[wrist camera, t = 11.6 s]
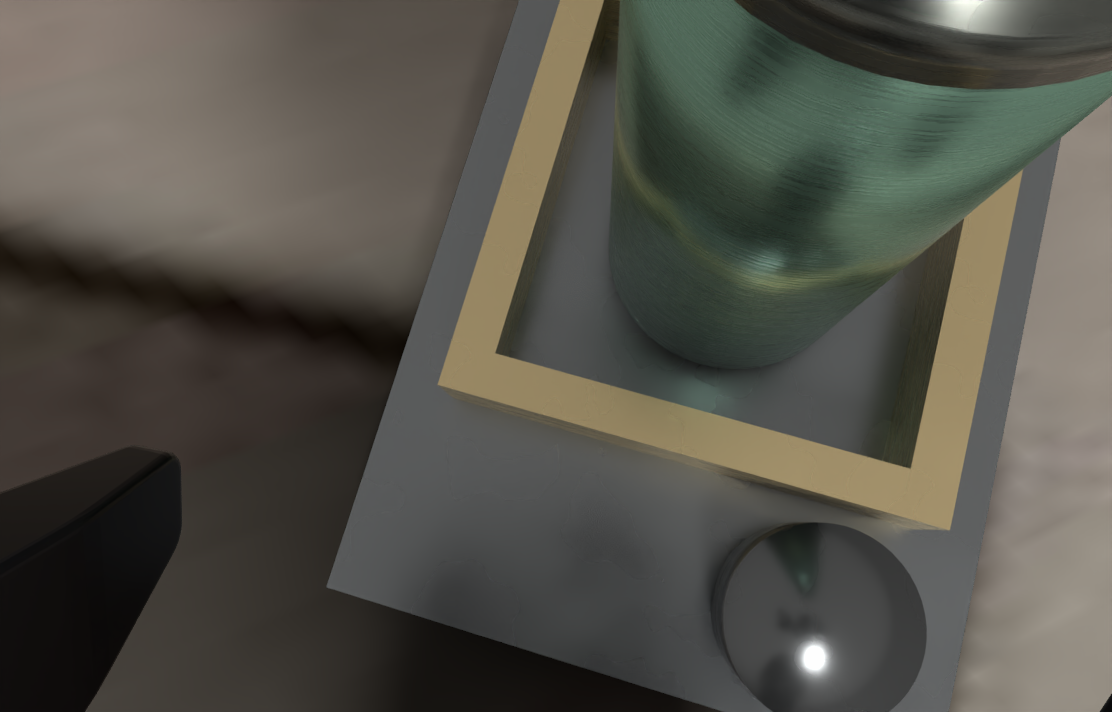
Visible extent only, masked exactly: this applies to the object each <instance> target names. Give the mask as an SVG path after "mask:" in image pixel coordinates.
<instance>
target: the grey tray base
mask: <svg viewBox="0 0 1112 712" xmlns="http://www.w3.org/2000/svg"><path fill="white" fill-rule="evenodd" d="M619 11H620V0H519V2H518V5H517V8H516V11H515V14H514V17H513V20H512V23H511V26H510V29H509V32H508V35H507V39H506V42H505V45H504V48H503V51H502V54H501V57H500V60H499V63H498V66H497V69H496V72H495V75H494V78H493V81H492V84H491V87H490V90H489V93H488V96H487V99H486V102H485V106H484V109H483V112H482V115H481V118H480V121H479V124H478V127H477V130H476V133H475V136H474V139H473V142H472V145H471V148H470V151H469V154H468V157H467V160H466V163H465V166H464V169H463V173H462V176H461V179H460V182H459V185H458V188H457V191H456V194H455V197H454V200H453V203H452V206H451V209H450V212H449V215H448V218H447V221H446V224H445V227H444V230H443V233H442V236H441V240H440V243H439V246H438V249H437V252H436V255H435V258H434V261H433V264H432V267H431V270H430V273H429V276H428V279H427V282H426V285H425V288H424V291H423V294H422V297H421V300H420V303H419V307H418V310H417V313H416V316H415V319H414V322H413V325H412V328H411V331H410V334H409V337H408V340H407V343H406V346H405V349H404V352H403V355H402V358H401V361H400V364H399V367H398V370H397V374H396V377H395V380H394V383H393V386H392V389H391V392H390V395H389V398H388V401H387V404H386V407H385V410H384V413H383V416H382V419H381V422H380V425H379V428H378V431H377V434H376V437H375V441H374V444H373V447H372V450H371V453H370V456H369V459H368V462H367V465H366V468H365V471H364V474H363V477H362V480H361V483H360V486H359V489H358V492H357V495H356V498H355V501H354V504H353V508H352V511H351V514H350V517H349V520H348V523H347V526H346V529H345V532H344V535H343V538H342V541H341V544H340V547H339V550H338V553H337V556H336V559H335V562H334V565H333V568H332V571H331V575H330V578H329V581H328V584H327V588H330V589H334V590H337V591H340V592H343V593H346V594H349V595H353V596H356V597H359V598H362V599H365V600H369V601H372V602H375V603H378V604H381V605H385V606H388V607H391V608H394V609H397V610H401V611H404V612H407V613H410V614H413V615H416V616H420V617H423V618H426V619H429V620H432V621H436V622H439V623H442V624H445V625H448V626H452V627H455V628H458V629H461V630H464V631H468V632H471V633H474V634H477V635H480V636H483V637H487V638H490V639H493V640H496V641H499V642H503V643H506V644H509V645H512V646H515V647H519V648H522V649H525V650H528V651H531V652H535V653H538V654H541V655H544V656H547V657H550V658H554V659H557V660H560V661H563V662H566V663H570V664H573V665H576V666H579V667H582V668H586V669H589V670H592V671H595V672H598V673H602V674H605V675H608V676H611V677H614V678H617V679H621V680H624V681H627V682H630V683H633V684H637V685H640V686H643V687H646V688H649V689H653V690H656V691H659V692H662V693H665V694H668V695H672V696H675V697H678V698H681V699H684V700H688V701H691V702H694V703H697V704H700V705H704V706H707V707H710V708H713V709H716V710H720V711H723V712H949V707H950V702H951V697H952V692H953V687H954V682H955V677H956V672H957V667H958V661H959V656H960V651H961V646H962V641H963V636H964V631H965V626H966V621H967V615H968V610H969V605H970V600H971V595H972V590H973V585H974V580H975V575H976V569H977V564H978V559H979V554H980V549H981V544H982V539H983V534H984V529H985V523H986V518H987V513H988V508H989V503H990V498H991V493H992V488H993V482H994V477H995V472H996V467H997V462H998V457H999V452H1000V447H1001V442H1002V436H1003V431H1004V426H1005V421H1006V416H1007V411H1008V406H1009V401H1010V396H1011V390H1012V385H1013V380H1014V375H1015V370H1016V365H1017V360H1018V355H1019V350H1020V344H1021V339H1022V334H1023V329H1024V324H1025V319H1026V314H1027V309H1028V304H1029V298H1030V293H1031V288H1032V283H1033V278H1034V273H1035V268H1036V263H1037V258H1038V252H1039V247H1040V242H1041V237H1042V232H1043V227H1044V222H1045V217H1046V212H1047V206H1048V201H1049V196H1050V191H1051V186H1052V181H1053V176H1054V171H1055V166H1056V160H1057V155H1058V150H1059V145H1060V140H1061V138H1060V139H1059V140H1058V141H1056V142H1055V143H1054V144H1053V145H1052V146H1050V147H1049V148H1048V149H1047V150H1046V151H1044V152H1043V153H1042V154H1041V155H1040V156H1038V157H1037V158H1036V159H1035V160H1033V161H1032V162H1031V163H1030V164H1029V165H1027V166H1026V167H1025V168H1024V169H1023V170H1021V171H1020V172H1019V173H1018V174H1017V175H1015V176H1014V177H1013V178H1012V179H1011V180H1009V181H1008V182H1007V183H1006V184H1005V185H1003V186H1002V187H1001V188H1000V189H999V190H997V191H996V192H995V193H994V194H993V195H991V196H990V197H989V198H988V199H986V200H985V201H984V202H983V203H982V204H980V205H979V206H978V207H977V208H976V209H974V210H973V211H972V212H971V213H970V214H968V215H967V216H966V217H965V218H964V219H962V220H961V221H960V222H959V223H958V224H956V225H955V226H954V227H953V228H952V229H950V230H949V231H948V232H947V233H945V234H944V235H943V236H942V237H941V238H939V239H938V240H937V241H936V242H935V243H933V244H932V245H931V246H930V247H929V248H927V249H926V250H925V251H924V252H923V253H921V254H920V255H919V256H918V257H917V258H915V259H914V260H913V261H912V262H911V263H909V264H908V265H907V266H906V267H905V268H903V269H902V270H901V271H900V272H898V273H897V274H896V275H895V276H894V277H892V278H891V279H890V280H889V281H888V282H886V283H885V284H884V285H883V286H882V287H880V288H879V289H878V290H877V291H876V292H874V293H873V294H872V295H871V296H870V297H868V298H867V299H866V300H865V301H864V302H862V303H861V304H860V305H859V306H858V307H856V308H855V309H854V310H853V311H851V312H850V313H849V314H848V315H847V316H845V317H844V318H843V319H842V320H841V321H839V322H838V323H837V324H836V325H835V326H833V327H832V328H831V329H830V330H829V331H827V332H826V333H825V334H824V335H823V336H821V337H820V338H819V339H818V340H816V341H815V342H814V343H813V344H811V345H810V346H809V347H807V348H806V349H804V350H802V351H801V352H799V353H797V354H796V355H794V356H792V357H789V358H787V359H784V360H782V361H780V362H777V363H773V364H770V365H766V366H762V367H755V368H748V369H726V368H717V367H711V366H707V365H703V364H699V363H695V362H693V361H690V360H687V359H685V358H682V357H680V356H678V355H676V354H674V353H673V352H671V351H669V350H667V349H665V348H664V347H663V346H661V345H660V344H659V343H657V342H656V341H654V340H653V339H652V338H651V337H650V336H649V335H648V334H647V333H645V332H644V331H643V330H642V329H641V328H640V326H639V325H638V324H637V323H636V322H635V320H634V319H633V318H632V317H631V315H630V314H629V312H628V311H627V309H626V307H625V306H624V304H623V303H622V301H621V298H620V296H619V294H618V292H617V289H616V287H615V284H614V280H613V277H612V273H611V267H610V261H609V226H610V204H611V183H612V161H613V140H614V118H615V97H616V75H617V54H618V32H619Z"/></svg>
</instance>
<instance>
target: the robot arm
mask: <svg viewBox="0 0 1112 712" xmlns="http://www.w3.org/2000/svg"><path fill="white" fill-rule="evenodd" d="M181 527H182V502H181V466H180V462H179V459H178V458H177V457H176V456H175V455H174V454H173V453H171V452H168V451H163V450H158V449H153V448H149V447H144V446H138V445H130V446H127V447H124V448H121V449H118V450H115V451H113V452H110V453H107V454H105V455H102V456H99V457H96V458H94V459H91V460H88V461H85V462H83V463H80V464H77V465H74V466H72V467H69V468H66V469H63V470H61V471H58V472H55V473H52V474H50V475H47V476H44V477H42V478H39V479H36V480H33V481H31V482H28V483H25V484H22V485H20V486H17V487H14V488H11V489H9V490H6V491H3V492H0V712H85V711H86V709H87V708H88V706H89V705H90V703H91V701H92V700H93V698H94V697H95V695H96V694H97V692H98V690H99V689H100V687H101V685H102V683H103V682H104V680H105V678H106V676H107V675H108V673H109V671H110V669H111V667H112V666H113V664H114V662H115V660H116V658H117V656H118V654H119V653H120V651H121V649H122V647H123V645H124V643H125V642H126V640H127V638H128V636H129V634H130V632H131V630H132V629H133V627H134V625H135V623H136V621H137V619H138V617H139V616H140V614H141V612H142V610H143V608H144V606H145V604H146V603H147V601H148V599H149V597H150V595H151V593H152V591H153V590H154V588H155V586H156V584H157V582H158V580H159V578H160V577H161V575H162V573H163V571H164V569H165V567H166V566H167V564H168V562H169V560H170V558H171V556H172V554H173V553H174V550H175V548H176V546H177V543H178V541H179V537H180V533H181ZM1100 712H1112V694H1111V696H1110V697H1109V699H1108V700H1107V702H1106V703H1105V705H1104V706H1103V708H1102V709H1101V711H1100Z"/></svg>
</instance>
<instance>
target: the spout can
mask: <svg viewBox="0 0 1112 712" xmlns="http://www.w3.org/2000/svg"><path fill="white" fill-rule="evenodd" d="M1111 96H1112V0H620V11H619V32H618V54H617V75H616V97H615V118H614V140H613V161H612V183H611V204H610V226H609V261H610V267H611V273H612V277H613V280H614V284H615V287H616V289H617V292H618V294H619V296H620V298H621V301H622V303H623V304H624V306H625V307H626V309H627V311H628V312H629V314H630V315H631V317H632V318H633V319H634V320H635V322H636V323H637V324H638V325H639V326H640V328H641V329H642V330H643V331H644V332H645V333H647V334H648V335H649V336H650V337H651V338H652V339H653V340H654V341H656V342H657V343H659V344H660V345H661V346H663V347H664V348H665V349H667V350H669V351H671V352H673V353H674V354H676V355H678V356H680V357H682V358H685V359H687V360H690V361H693V362H695V363H699V364H703V365H707V366H711V367H717V368H726V369H748V368H755V367H762V366H766V365H770V364H773V363H777V362H780V361H782V360H784V359H787V358H789V357H792V356H794V355H796V354H797V353H799V352H801V351H802V350H804V349H806V348H807V347H809V346H810V345H811V344H813V343H814V342H815V341H816V340H818V339H819V338H820V337H821V336H823V335H824V334H825V333H826V332H827V331H829V330H830V329H831V328H832V327H833V326H835V325H836V324H837V323H838V322H839V321H841V320H842V319H843V318H844V317H845V316H847V315H848V314H849V313H850V312H851V311H853V310H854V309H855V308H856V307H858V306H859V305H860V304H861V303H862V302H864V301H865V300H866V299H867V298H868V297H870V296H871V295H872V294H873V293H874V292H876V291H877V290H878V289H879V288H880V287H882V286H883V285H884V284H885V283H886V282H888V281H889V280H890V279H891V278H892V277H894V276H895V275H896V274H897V273H898V272H900V271H901V270H902V269H903V268H905V267H906V266H907V265H908V264H909V263H911V262H912V261H913V260H914V259H915V258H917V257H918V256H919V255H920V254H921V253H923V252H924V251H925V250H926V249H927V248H929V247H930V246H931V245H932V244H933V243H935V242H936V241H937V240H938V239H939V238H941V237H942V236H943V235H944V234H945V233H947V232H948V231H949V230H950V229H952V228H953V227H954V226H955V225H956V224H958V223H959V222H960V221H961V220H962V219H964V218H965V217H966V216H967V215H968V214H970V213H971V212H972V211H973V210H974V209H976V208H977V207H978V206H979V205H980V204H982V203H983V202H984V201H985V200H986V199H988V198H989V197H990V196H991V195H993V194H994V193H995V192H996V191H997V190H999V189H1000V188H1001V187H1002V186H1003V185H1005V184H1006V183H1007V182H1008V181H1009V180H1011V179H1012V178H1013V177H1014V176H1015V175H1017V174H1018V173H1019V172H1020V171H1021V170H1023V169H1024V168H1025V167H1026V166H1027V165H1029V164H1030V163H1031V162H1032V161H1033V160H1035V159H1036V158H1037V157H1038V156H1040V155H1041V154H1042V153H1043V152H1044V151H1046V150H1047V149H1048V148H1049V147H1050V146H1052V145H1053V144H1054V143H1055V142H1056V141H1058V140H1059V139H1060V138H1061V137H1062V136H1064V135H1065V134H1066V133H1067V132H1068V131H1070V130H1071V129H1072V128H1073V127H1074V126H1076V125H1077V124H1078V123H1079V122H1080V121H1082V120H1083V119H1084V118H1085V117H1087V116H1088V115H1089V114H1090V113H1091V112H1093V111H1094V110H1095V109H1096V108H1097V107H1099V106H1100V105H1101V104H1102V103H1103V102H1105V101H1106V100H1107V99H1108V98H1109V97H1111Z"/></svg>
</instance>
